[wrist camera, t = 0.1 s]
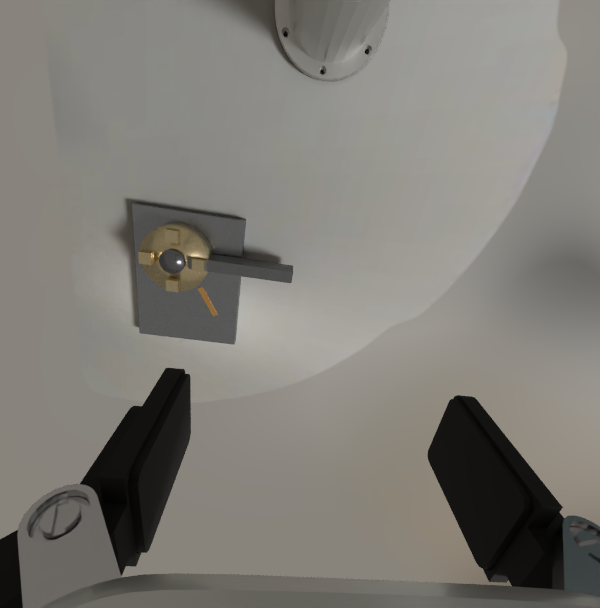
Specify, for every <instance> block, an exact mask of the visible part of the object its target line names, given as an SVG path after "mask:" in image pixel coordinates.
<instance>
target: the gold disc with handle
mask: <svg viewBox="0 0 600 608" xmlns="http://www.w3.org/2000/svg"><path fill="white" fill-rule="evenodd" d="M138 258H139V264H141V265H142V267H143V269H144V271H145V273H146V274H147V275H148V277H149V278H150V279H151V280H152V281H153V282H155V283H156V284H157V285H159V286H161V287H163V288H165V289H166V291H171V292H179V291H186V290H190V289H192V288H195V287H196V286H198V285H199V284H200V283H201V282H202V281H203V279H204V278H205V277H206V276H207V274H208V273H209V272H215V273H222V274H229V275H236V276H243V277H250V278H258V279H265V280H272V281H279V282H286V283H291V282H292V275H293V266H291V265H284V264H277V263H270V262H263V261H256V260H249V259H242V258H236V257H229V256H222V255H215V254H213V253H212V249H211V246H210V244H209V242H208V240H207V239H206V237H205V236H204V235H203V234H202V233H201V232H200V231H199V230H197V229H196V228H194V227H192V226H190V225H187V224H184V223H177V222H175V223H168V224H165V225H163V226H160V227H158V228H156V229H154V230H152V231H151V232H149V233H148V234H147V235H146V236H145V238H144V239H143V241H142V243H141V246H140V251H138Z"/></svg>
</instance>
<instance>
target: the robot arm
mask: <svg viewBox="0 0 600 608" xmlns="http://www.w3.org/2000/svg"><path fill="white" fill-rule="evenodd" d="M389 2H390V0H275V21H276V27H277V31H278V36H279V39H280V41H281V44H282V47H283V49H284V51H285V52H286V54H287V56H288V58H289V59H290V60H291V61H292V63H293V64H294V65H295V66H296V67H297V68H298V69H299V70H300V71H302V72H303V73H304V74H306V75H308V76H310V77H312V78H313V79H317V80H321V81H337V80H342V79H345V78H347V77H349V76H352V75H353V74H355V73H356V72H357V71H359V70H360V69H362V68H363V66H364V65H365V64H366V63H367V62H368V61H369V60H370V59H371V57H372V56H373V55H374V53H375V52H376V50H377V48H378V46H379V44H380V43H381V40H382V38H383V35H384V32H385V30H386V25H387V20H388V16H389ZM284 33H287V34H288V36H287V37H284ZM365 50H368V54H365ZM321 70H323V71H324V74H323V75H322V74H321V73H320V71H321ZM190 414H191V413H190V375H189V374H185V370H184V369H175V368H166V369H165V370H164V372H163V374H162V375H161V377H160V379H159V380H158V382H157V383H156V385H155V387H154V388H153V390H152V392H151V393H150V395H149V396H148V398H147V400H146V401H145V403H144V404H143V406H133V407H131V408H130V410H129V411H128V412H127V414H126V415H125V417H124V418H123V420H122V421H121V423H120V424H119V426H118V427H117V429H116V431H115V432H114V433H113V435H112V437H111V438H110V440H109V441H108V442H107V444H106V445H105V447H104V449H103V450H102V452H101V453H100V454H99V456H98V457H97V459H96V461H95V462H94V463H93V465H92V466H91V468H90V470H89V471H88V472H87V474H86V476H85V477H84V479H83V480H82V482H81V483H80V484H73V485H67V486H63V487H61V488H58V489H55V490H53V491H52V492H50V493H48V494H46V495H44V496H43V497H42V498H41V499H39V500H38V501H37V502H35V503H34V504H33V505H32V506H31V507H30V509H29V510H28V511H27V512H26V513H25V514H24V516H23V518H22V520H21V522H20V524H19V528H18V530H17V531H15V532H13V533H11V534H9V535H8V536H6V537H4V538H2V539H0V608H600V527H599V526H598V525H596V524H595V523H593V522H591V521H589V520H587V519H585V518H582V517H579V516H567V517H566V518H563V516H562V515H561V514H560V513H559V512H560V510H561V509H562V508H563V507H562V506H561V505H560V504H559V503H558V501H557V500H556V499H555V497H554V496H553V495H552V494H551V492H550V491H549V490H548V489H547V487H546V486H545V485H544V484H543V482H542V481H541V480H540V479H539V477H538V476H537V475H536V474H535V472H534V471H533V470H532V468H531V467H530V466H529V465H528V463H527V462H526V461H525V460H524V458H523V457H522V456H521V455H520V454H519V452H518V451H517V450H516V448H515V447H514V446H513V445H512V443H511V442H510V441H509V440H508V438H507V437H506V436H505V435H504V434H503V432H502V431H501V430H500V428H499V427H498V426H497V425H496V423H495V422H494V421H493V420H492V418H491V417H490V416H489V415H488V413H487V412H486V411H485V410H484V409H483V407H482V406H481V405H480V403H479V402H478V401H477V400H476V399H475V398H474V397H469V396H455V397H454V399H451V400H450V401H449V403H448V406H447V408H446V410H445V413H444V415H443V417H442V420H441V422H440V424H439V427H438V429H437V432H436V434H435V436H434V438H433V441H432V443H431V445H430V448H429V450H428V460H429V463H430V465H431V467H432V469H433V471H434V473H435V475H436V478H437V480H438V482H439V484H440V486H441V488H442V490H443V493H444V495H445V497H446V499H447V501H448V503H449V505H450V508H451V510H452V512H453V514H454V516H455V518H456V520H457V522H458V525H459V527H460V529H461V531H462V533H463V535H464V537H465V539H466V542H467V543H468V546H469V548H470V550H471V552H472V554H473V556H474V559H475V561H476V563H477V564H478V565H479V567H481V568H483V570H484V572H485V574H486V576H487V578H488V580H489V582H507V581H508V580H509V581H510V583H511V585H512V586H496V585H477V584H454V583H436V582H413V581H389V580H366V579H341V578H319V577H318V578H316V577H290V576H264V575H234V574H233V575H232V574H151V575H138V576H130V577H123V578H121V575H122V574H123V571H124V569H125V566H136V565H137V562H138V560H139V557H140V555H141V552H147V551H148V550H149V548H150V546H151V543H152V541H153V538H154V535H155V532H156V530H157V527H158V524H159V521H160V519H161V516H162V513H163V511H164V508H165V505H166V503H167V500H168V497H169V494H170V492H171V489H172V487H173V484H174V481H175V478H176V475H177V473H178V470H179V468H180V465H181V462H182V459H183V457H184V454H185V451H186V448H187V446H188V443H189V439H190V433H191V428H190V427H191V417H190Z"/></svg>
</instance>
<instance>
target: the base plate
mask: <svg viewBox="0 0 600 608" xmlns="http://www.w3.org/2000/svg"><path fill="white" fill-rule="evenodd" d="M132 216H133V232H134V248H135V265H136V281H137V297H138V314H139V330H140V333H143V334H151V335H159V336H168V337H176V338H184V339H193V340H201V341H209V342H218V343H226V344H235V341H236V331H237V319H238V308H239V296H240V284H241V276H236V275H229V274H222V273H215V272H209V273H208V274H207V276H206V277H205V278H204V279H203V281H202V282H201V283H200V284H199V285H198V286H196V287H195V288H192V289H190V290H186V291H179V292H171V291H166V289H165V288H163V287H161V286H159V285H157V284H156V283H155V282H153V281H152V280H151V279H150V278H149V277H148V275H147V274H146V273H145V271H144V269H143V267H142V265H141V264H139V258H138V251H140V246H141V243H142V241H143V239H144V238H145V236H146V235H147V234H148V233H149V232H151V231H152V230H154V229H156V228H158V227H160V226H163V225H165V224H168V223H175V222H177V223H184V224H187V225H190V226H192V227H194V228H196V229H197V230H199V231H200V232H201V233H202V234H203V235H204V236H205V237H206V239H207V240H208V242H209V244H210V246H211V249H212V253H213V254H215V255H222V256H229V257H236V258H242V259H243V249H244V237H245V225H246V219H240V218H233V217H227V216H221V215H214V214H208V213H201V212H195V211H189V210H182V209H176V208H169V207H163V206H157V205H150V204H144V203H132Z"/></svg>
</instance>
